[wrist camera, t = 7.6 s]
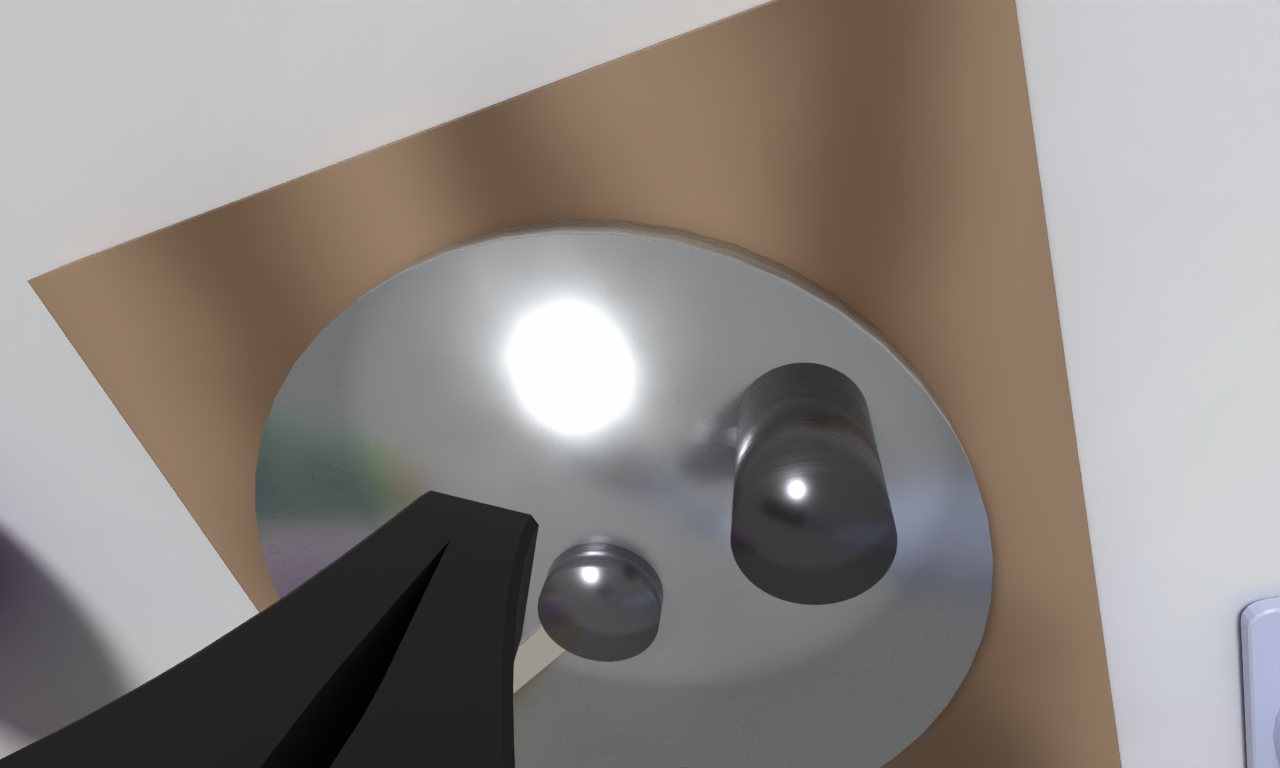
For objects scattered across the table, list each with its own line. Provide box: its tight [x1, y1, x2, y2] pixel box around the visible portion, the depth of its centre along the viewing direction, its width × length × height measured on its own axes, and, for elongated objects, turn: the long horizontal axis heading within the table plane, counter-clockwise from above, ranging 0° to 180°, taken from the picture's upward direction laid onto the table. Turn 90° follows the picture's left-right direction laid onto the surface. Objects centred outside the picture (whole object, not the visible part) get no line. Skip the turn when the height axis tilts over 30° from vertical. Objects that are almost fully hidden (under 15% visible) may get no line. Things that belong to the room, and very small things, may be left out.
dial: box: [255, 219, 993, 768], centre depth 16 cm, size 16×16×5 cm
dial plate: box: [28, 0, 1121, 768], centre depth 17 cm, size 20×20×4 cm
